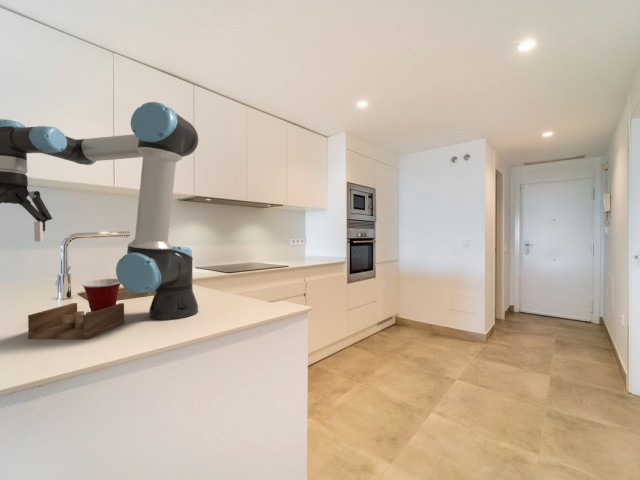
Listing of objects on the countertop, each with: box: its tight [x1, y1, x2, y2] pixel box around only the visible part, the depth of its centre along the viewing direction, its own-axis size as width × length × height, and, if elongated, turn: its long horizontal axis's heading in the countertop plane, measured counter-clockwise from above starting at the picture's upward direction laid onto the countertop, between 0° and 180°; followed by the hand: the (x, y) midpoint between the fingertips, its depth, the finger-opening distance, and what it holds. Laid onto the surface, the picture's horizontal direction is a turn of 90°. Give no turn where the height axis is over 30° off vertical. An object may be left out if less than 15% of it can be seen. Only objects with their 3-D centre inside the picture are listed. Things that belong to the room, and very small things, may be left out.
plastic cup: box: [81, 278, 121, 312], centre depth 100 cm, size 11×11×12 cm
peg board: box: [27, 302, 125, 340], centre depth 86 cm, size 16×14×6 cm
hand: (12, 242), depth 92 cm, fingers open, 13 cm apart
